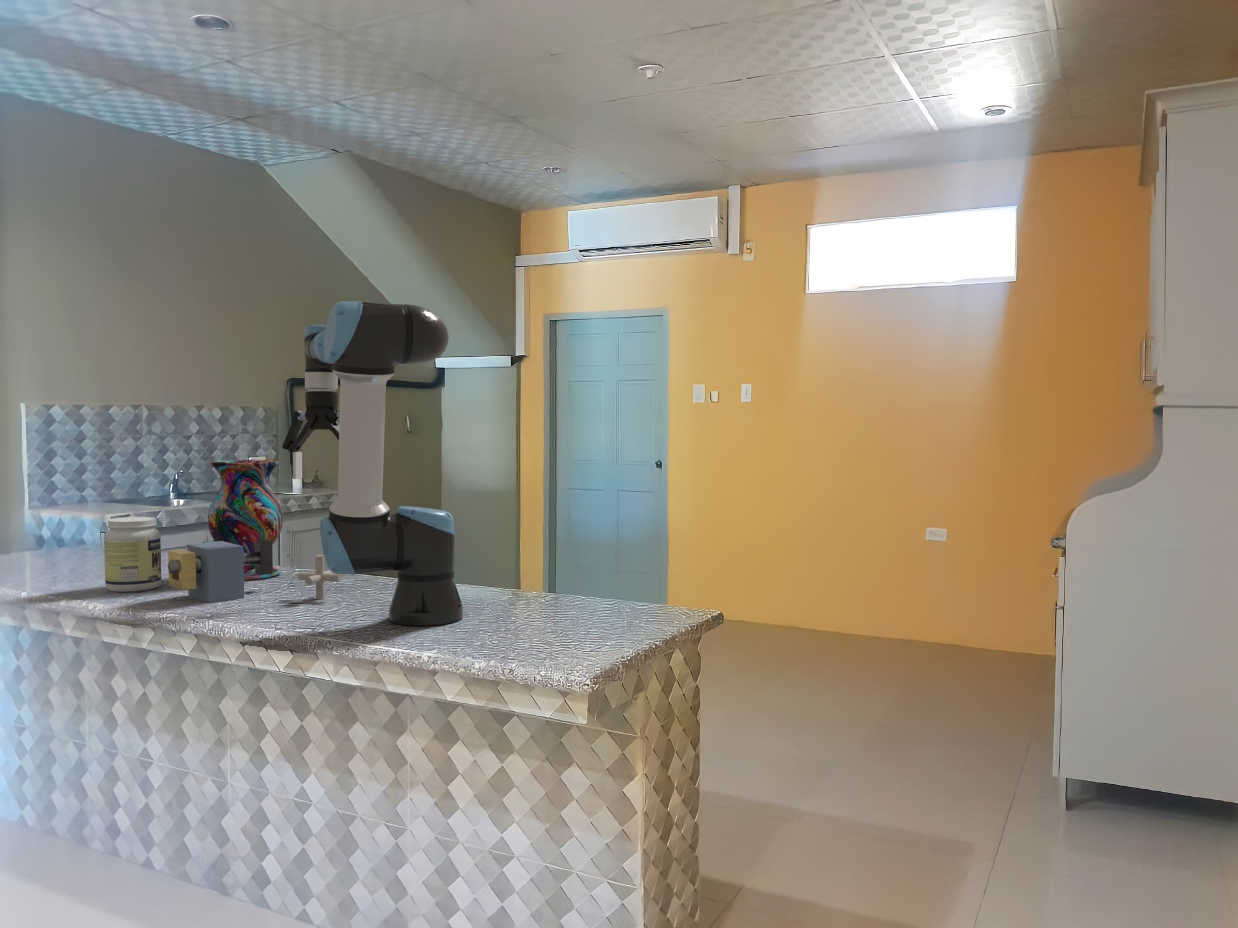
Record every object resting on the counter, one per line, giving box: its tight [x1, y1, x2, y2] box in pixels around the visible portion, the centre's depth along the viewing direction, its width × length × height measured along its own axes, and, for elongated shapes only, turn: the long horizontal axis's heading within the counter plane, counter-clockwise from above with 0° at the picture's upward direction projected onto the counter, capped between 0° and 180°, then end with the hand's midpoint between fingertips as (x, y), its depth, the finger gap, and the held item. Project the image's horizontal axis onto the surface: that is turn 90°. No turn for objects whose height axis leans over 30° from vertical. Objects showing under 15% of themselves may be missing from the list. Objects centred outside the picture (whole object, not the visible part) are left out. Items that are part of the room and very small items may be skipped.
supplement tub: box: [103, 516, 162, 593], centre depth 226 cm, size 12×12×17 cm
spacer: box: [167, 548, 196, 591], centre depth 211 cm, size 8×3×8 cm, turn 46°
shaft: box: [167, 539, 274, 575], centre depth 217 cm, size 3×23×8 cm, turn 135°
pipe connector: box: [297, 554, 343, 601], centre depth 215 cm, size 10×10×10 cm
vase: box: [207, 459, 284, 581], centre depth 243 cm, size 18×18×30 cm
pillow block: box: [186, 541, 245, 604], centre depth 216 cm, size 12×8×12 cm, turn 46°
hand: (322, 479), depth 225 cm, fingers open, 13 cm apart
